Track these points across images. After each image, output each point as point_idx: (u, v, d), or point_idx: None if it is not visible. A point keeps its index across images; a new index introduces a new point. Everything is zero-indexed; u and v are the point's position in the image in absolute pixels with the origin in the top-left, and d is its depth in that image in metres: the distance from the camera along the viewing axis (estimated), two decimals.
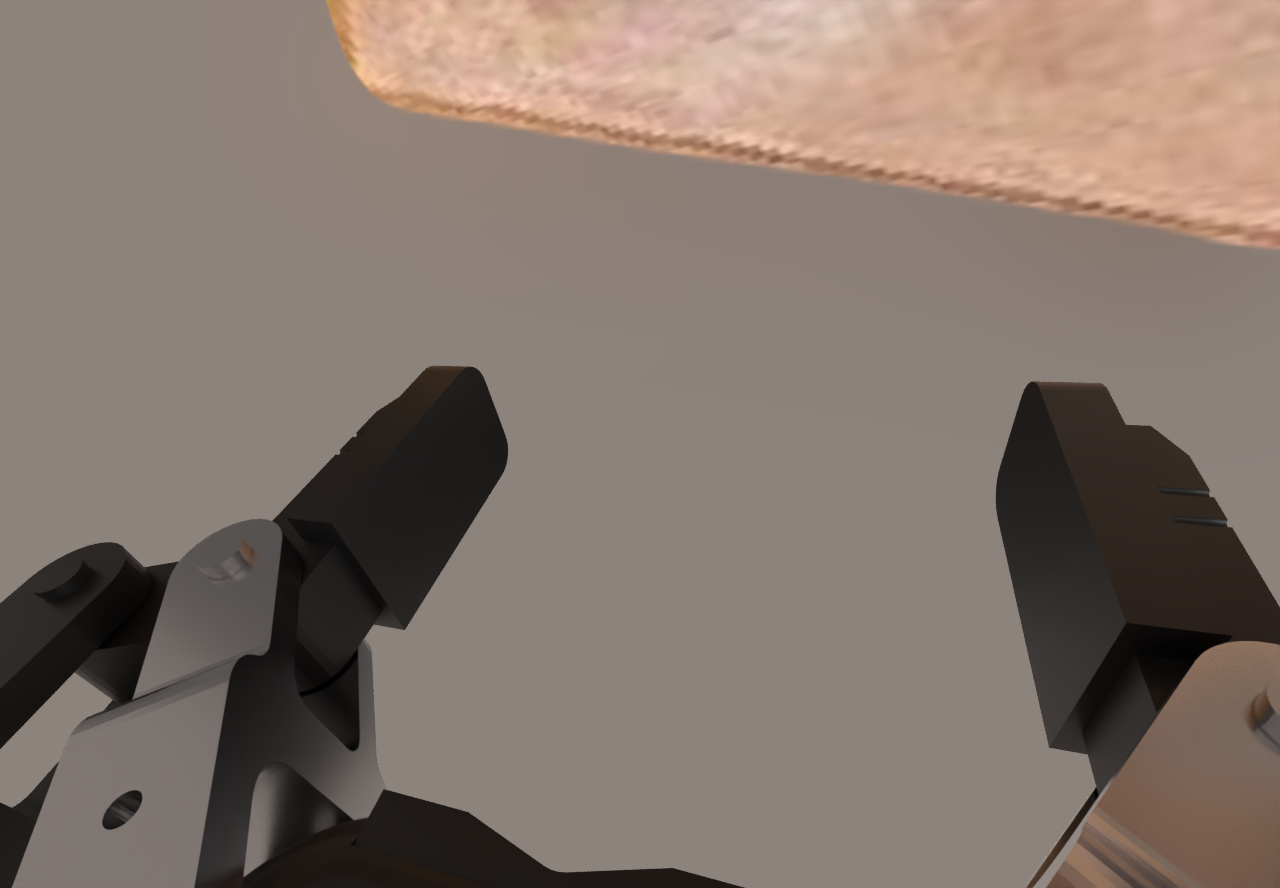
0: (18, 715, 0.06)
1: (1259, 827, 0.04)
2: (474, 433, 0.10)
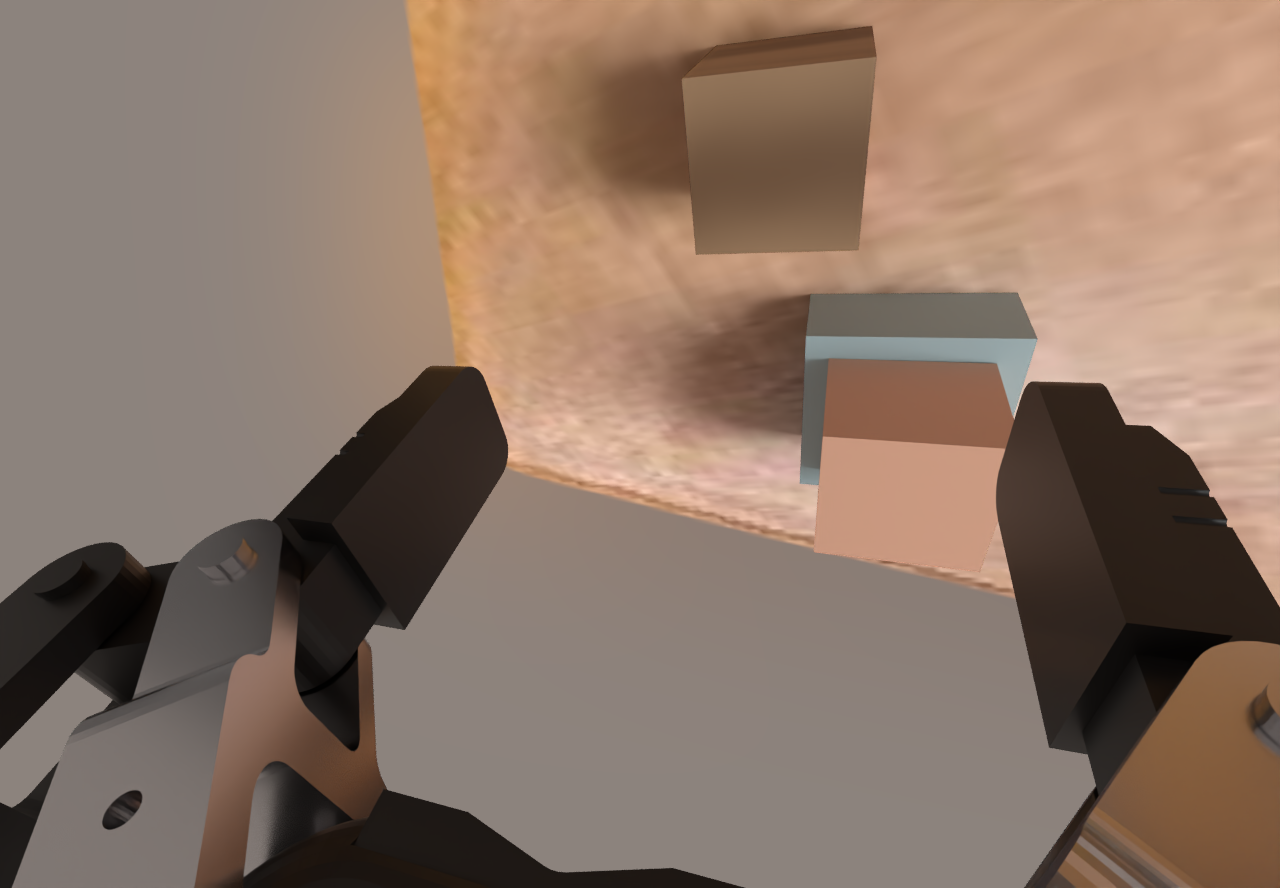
0: (18, 715, 0.06)
1: (1259, 827, 0.04)
2: (474, 433, 0.10)
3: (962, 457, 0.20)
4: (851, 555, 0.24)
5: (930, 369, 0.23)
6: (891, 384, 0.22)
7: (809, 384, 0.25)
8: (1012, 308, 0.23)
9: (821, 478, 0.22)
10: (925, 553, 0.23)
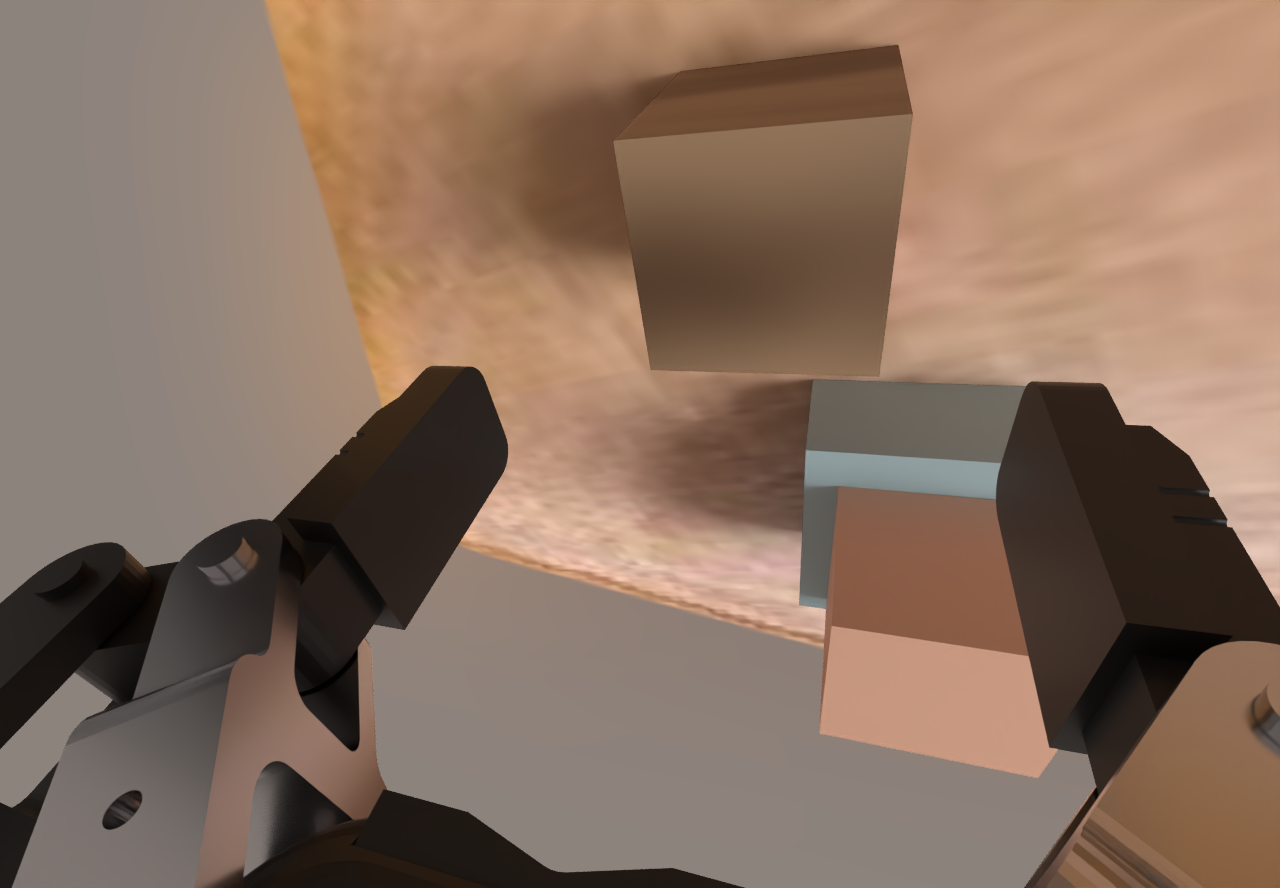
0: (19, 715, 0.06)
1: (1259, 827, 0.04)
2: (474, 433, 0.10)
3: (1025, 667, 0.14)
4: (867, 742, 0.19)
5: (973, 512, 0.17)
6: (922, 535, 0.17)
7: (810, 503, 0.20)
8: None
9: (829, 666, 0.16)
10: (965, 752, 0.17)
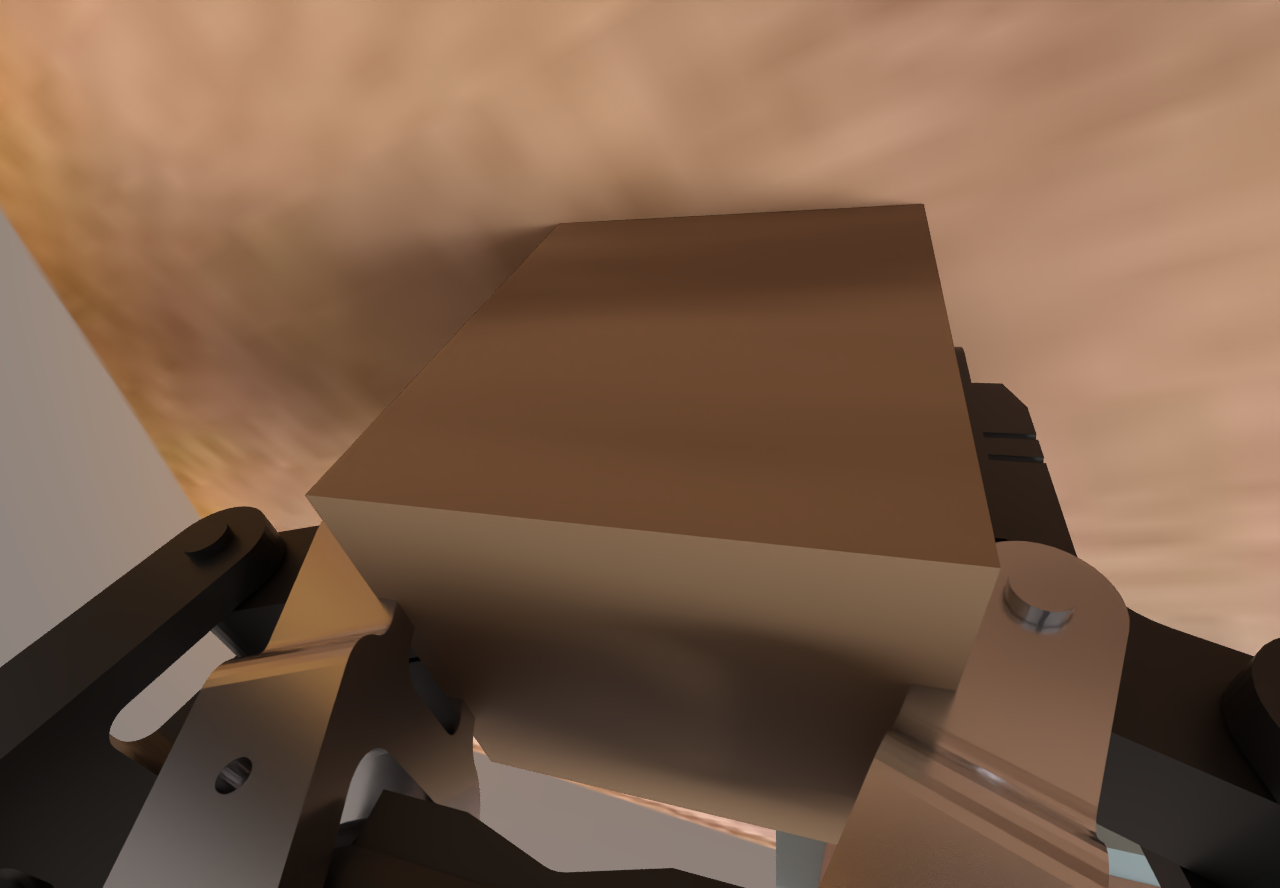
0: (150, 670, 0.06)
1: (1015, 688, 0.04)
2: None
3: None
4: None
5: None
6: None
7: None
8: None
9: None
10: None
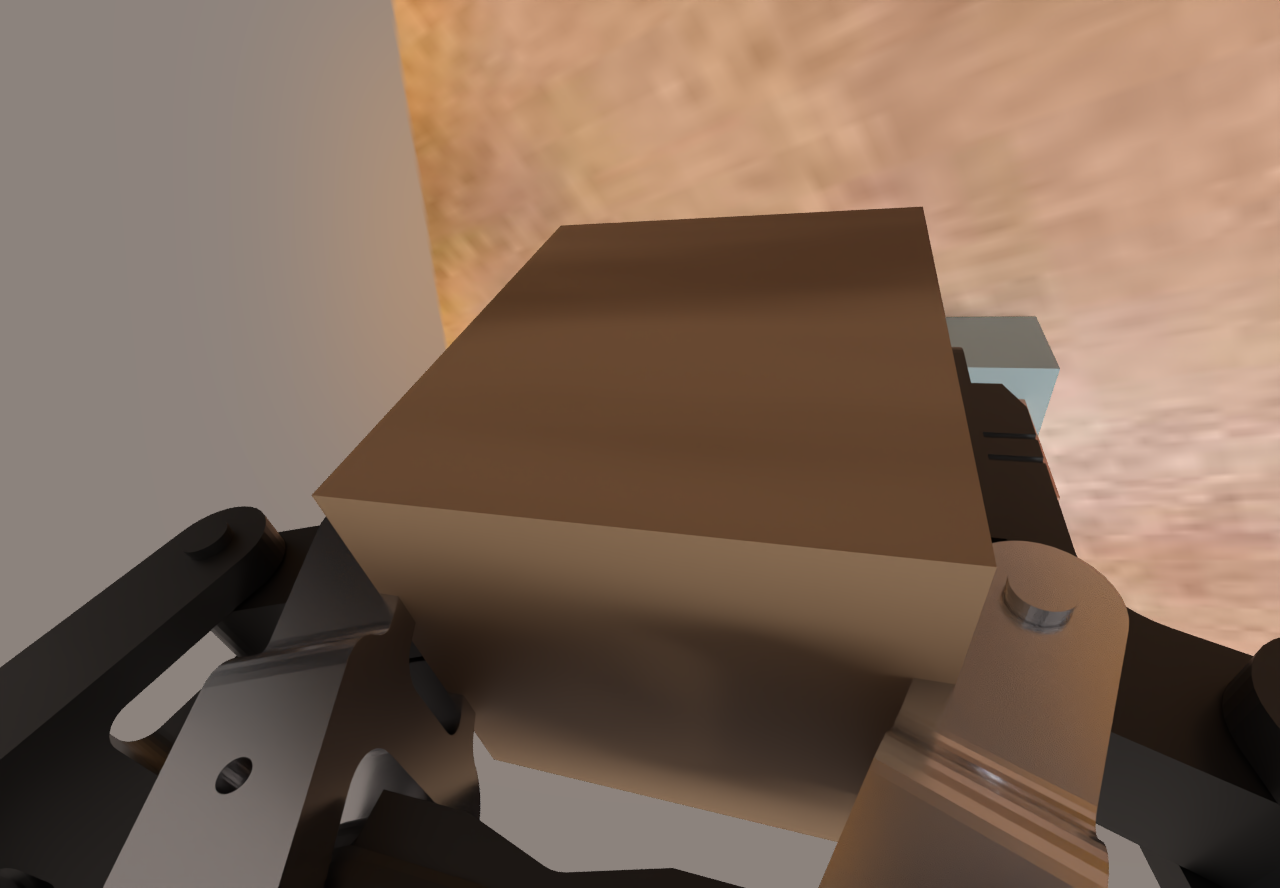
0: (150, 670, 0.06)
1: (1016, 688, 0.04)
2: None
3: None
4: None
5: None
6: None
7: None
8: (1031, 334, 0.22)
9: None
10: None
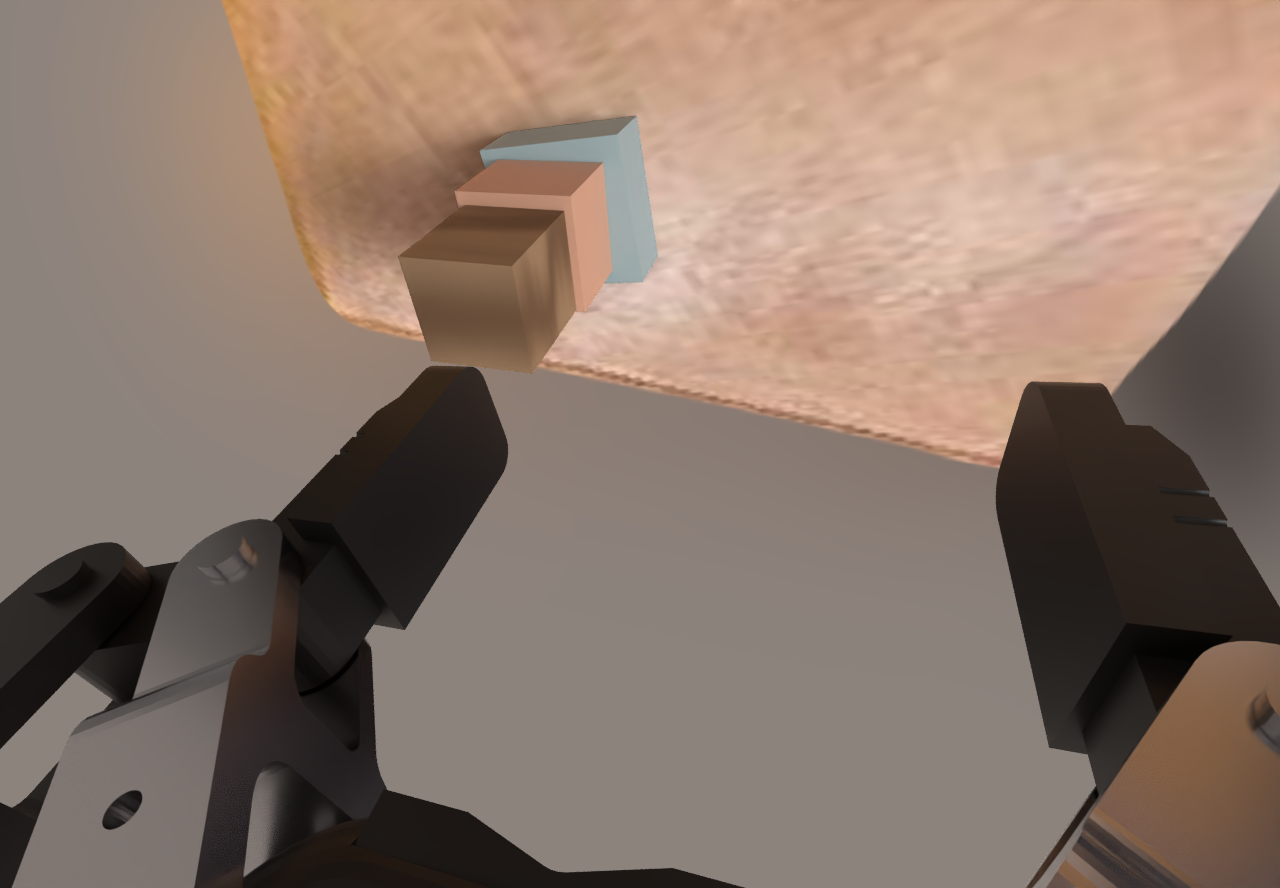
0: (19, 715, 0.06)
1: (1259, 827, 0.04)
2: (474, 433, 0.10)
3: (539, 205, 0.29)
4: None
5: (558, 164, 0.32)
6: (525, 170, 0.31)
7: None
8: (622, 123, 0.32)
9: None
10: None
